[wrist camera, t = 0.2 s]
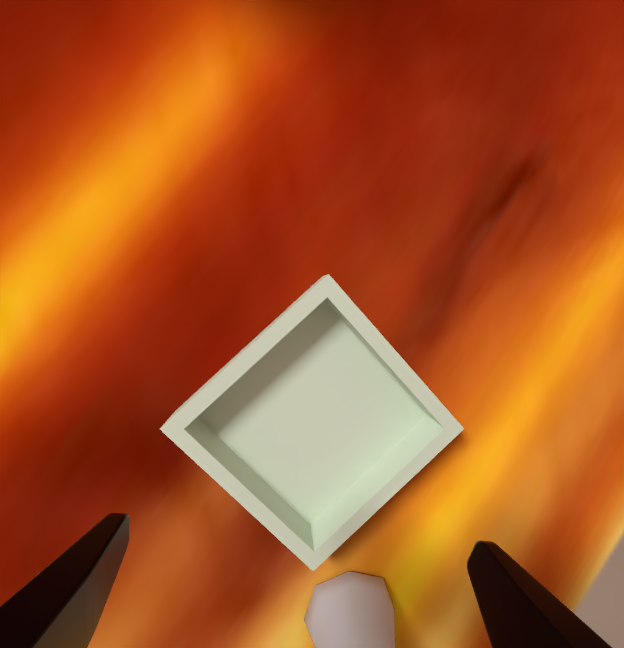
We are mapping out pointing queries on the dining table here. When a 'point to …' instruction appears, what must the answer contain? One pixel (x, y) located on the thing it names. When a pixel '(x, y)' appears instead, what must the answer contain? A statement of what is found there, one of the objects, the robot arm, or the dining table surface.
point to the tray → (314, 423)
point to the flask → (351, 613)
